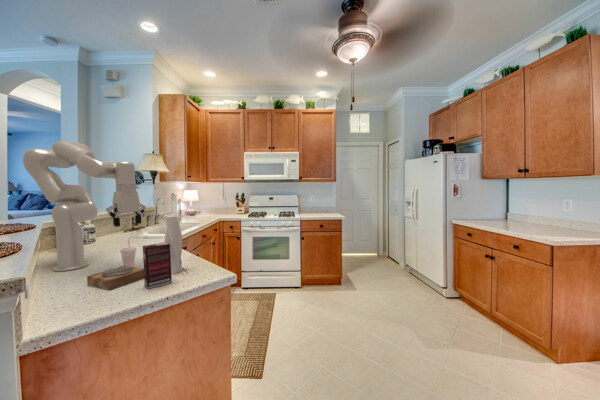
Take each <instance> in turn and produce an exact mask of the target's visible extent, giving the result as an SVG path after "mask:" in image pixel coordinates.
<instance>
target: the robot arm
mask: <svg viewBox="0 0 600 400" xmlns="http://www.w3.org/2000/svg"><path fill="white" fill-rule="evenodd" d="M22 164H23V167H24V169H25V170H26V172H27V173H28V174H29V176H31V178H32V180H34V181H35V182H36V184H37V186H38V188H39V190H40V191H41V192H42V194H43V196H44V197H45V199H46V200H47V201H48V202H49V203H51V204H54V205H55V204H56V205H55V206H54V207H52V209H51V217H52V220H53V224H54V230H55V240H56V243H55V244H56V245H55V246H56V265H55V266H54V267H52V271H53V272H67V271H73V270H79V269H82V268H85V267H88V265H89V261H85V249H84V248H85V247H84V245H85V244H84V230H83V227H82V225H80V223H79V222H85V221H91V220H93V219H95V218H96V217H97V216H98V209H97V206H96V204H95V202H94V200H93V199H92V197H91V196H90V194H89V192H88V191H87V190H86V189H85V188H84V187H83V186H81V185H78V184H67V183H64V181H63V180H62V178H61V177H60V175H59V174H58V173H57V172H55V171H54V170H52V169H51V168H54V169H55V168H56V169H69V168H72V167H74V166H76V168H77V170H79V171H80V172H82V173H84V174H85V175H88V176H90V177H93V178H97V179H99V178H100V179H115V191H114V192H113V196H112V204H111V206H108V207H106V208H105V211H106V212H107V214H108V215H109V216H110V217H111V218H112V221H113V223H112V224H113V226H114V227H115V228H116V227H117V228H119V227H120V226H121V217H119V216H120V215H121V214H130V213H134V214H135V218H134V221H135V224H138V225H139V224H142V216H143V214H144V213H145V210H146V207H147V206H146V205H145V204H142V203H140V196H139V193H138V189H139V186H138V185H136V184H137V183H136V167H135V164H134V163H133V162H131V161H117V162H110V161H102V160H97V159H96V158H95V154H94V153H93V152H92V150H91V148H90V147H89V146H87V145H86V144H85V143H79V142H75V141H69V140H59V141H58V140H57V141H55V142H54V143H53V144H52V146H51V149H46V148H41V147H40V148H39V147H38V148H35V147H34V148H30V149H27V150H26V151H25V152H24V153H23V156H22Z"/></svg>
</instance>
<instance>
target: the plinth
mask: <svg viewBox="0 0 600 400" xmlns="http://www.w3.org/2000/svg"><path fill="white" fill-rule="evenodd" d="M86 278H87V279H86V281H87V287H88V286H89V287H95V288H99V289H103V290H108V291H113V290H115V289H117V288H120V287H121V288H122V287H123V286H126V285H129V284H132V283H134V282H138V281H141V280H144V268H141V267H135V266H134V267H129V266H123V265H122V266H119V267H115V268H112V269H108V270H104V271H101V272H97V273H95V274H91V275H87V276H86Z"/></svg>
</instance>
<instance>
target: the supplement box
mask: <svg viewBox="0 0 600 400" xmlns="http://www.w3.org/2000/svg"><path fill="white" fill-rule="evenodd" d="M142 256H143V260H142V261H143V263H142V264H143V269H144V279H143V282H144V287H145V288H146V289H147V290H149V289H154V288H157V287H161V286H165V285H169V284H172V279H173V278H172V277H173V276H172V274H171V257H170V244H169V243H167V242H165V241H164V242H159V243H153V244H146V245H142Z"/></svg>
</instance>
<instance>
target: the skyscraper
mask: <svg viewBox="0 0 600 400" xmlns="http://www.w3.org/2000/svg"><path fill="white" fill-rule="evenodd" d="M177 213H179V215H177ZM163 219H164V222H165V223H164V224H165V232H164V243H165V242H167V243H169V244H170V257H171V275H175V274H179V273H182V272H187V271H188V270H187V269H185V268H183V267H182V253H183V234H182V228H181V226H180V223H181V220H182V213H181V212H180V211H179V210H176V211H175V212H174V213H171V214H165V215H163Z"/></svg>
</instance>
